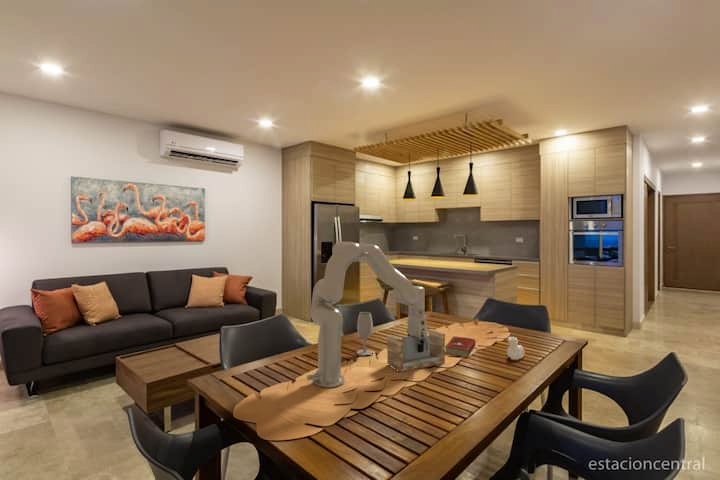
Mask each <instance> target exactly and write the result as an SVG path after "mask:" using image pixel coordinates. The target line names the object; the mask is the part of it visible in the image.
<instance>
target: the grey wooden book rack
mask: <svg viewBox="0 0 720 480" xmlns="http://www.w3.org/2000/svg"><path fill="white" fill-rule="evenodd" d="M428 335H430V357H427V358H422V359H416V360H411V361H406V362H403V340H402V338H398V337H396V336H395V335H393V334H389V335H387V364H389V365H390V366H392V367H393V368H395V369H396V370H395V369H394V370H395V371H397V370H398V371H401V372H406V371H411V370H415V369H414V368H416V369H420V367H421V368H425V366H426V367H430V365H431V366H435V365H440V364H441V365H442V364H445V363H446V357H445V356H446V347H445V346H446V334H445V333H444V332H441V331H439V330H435V329H434V328H429V329H428ZM389 365H388V366H389ZM390 366H389V367H390ZM392 367H391V368H392ZM393 368H392V369H393ZM410 369H411V370H410ZM405 370H406V371H405ZM398 371H397V372H398Z"/></svg>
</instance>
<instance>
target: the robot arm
mask: <svg viewBox="0 0 720 480" xmlns="http://www.w3.org/2000/svg"><path fill="white" fill-rule="evenodd" d="M331 252H332V255H331V256H330V258H329V259H328V260H327V263H326V267H325V270H324V272H325V273H324V277H323V278H322V279H319V280H318V281H317V282H316V283H315V285H314V287H313V290H312V298H311V306H310V318H311V320H312V321H313V323H314V324H316V325H317V326H319V331H318V338H317V370H315V372H314V373H313V374H307V375H306V379H307V381H310V380H311V381H312V382H314V384H315V385H316V386H318V387H320V388H321V387H322V388H335V387H336V386H337V387H339V385H340V386H342V385H343V384H344V383H345V377H344V376H343V375H342V348H341V347H342V343H341V342H342V328H343V321H344V320H343V315H342V313H341V311H340V310H339V309H338V308H336V307H334V306H332V305H333V304H337V303H339V302H341V300H342V298H343V294H344V286H345V285H344V284H345V280H346V272H347V269H348V268H349V266H350V265H351V264H352V263H353V262H354V263H355V262H356V263H357V262H359V263H366V264H367V265H368V266H369V267H370V269H371V270H372V271H373V273H374V274H375V276H376V277H377V278H378V279H379V280H380V281H382V282H383V283H384V284H386V285H388V286H390V287H391V288H392V291H391V297H392V299H393V300H394V301H395V302H397V303H400V304H403V305H406V306H408V316H407V317H408V318H407V325H406V327H407V329H406V333H407V337H410V336H414V337H417V339H418V346H417V352H418V353H420V352H424V343H425V341H426V340H427V335H428V326H427V319H426V316H425V315H426V313H425V312H426V311H425V306H426V305H425V302H426V301H425V298H426V297H425V293H426V292H425V291H426V290H425V288H424V287H423V286H420V285H413V283H412V282H411V281H410V280H409V279H408V278H407V277H406V276H405V275H403V274H402V273H401V272H400V271H399V270H397V269H396V268H395V266H394V265H393V264H392V263H391V261H390V260H389V258H387V256H386V254H385V253H384V252H383V251H382V249H381V248H380V247H379V246H378V245H377V244H371V243H356V242H355V241H354V242H353V241H338V242H336V243H335V244H334V245H333V246H332V251H331ZM420 336H421V337H420ZM420 338H421V339H422V340H421V341H420ZM341 384H342V385H341Z"/></svg>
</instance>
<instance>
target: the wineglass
mask: <svg viewBox="0 0 720 480" xmlns="http://www.w3.org/2000/svg"><path fill="white" fill-rule="evenodd" d="M356 329H357V335H359V337H360V338H361V339H362V340H363V349H358V350H357V351H356V354H357V355H358V356H361V357H367V356H366V355H370V356H372V355H373V354H374V351H373V350H371V349H367V339H369V338H370V337H371V336H372V334H373V330H374V322H373V316H372V313H371V312H370V311H360V312H359V314H358V316H357V324H356ZM372 353H373V354H372ZM371 354H372V355H371Z"/></svg>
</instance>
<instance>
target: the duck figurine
mask: <svg viewBox="0 0 720 480" xmlns="http://www.w3.org/2000/svg"><path fill="white" fill-rule="evenodd" d="M507 342H508V344H510V345H509V346H508V347H507V349H506V354H507V355H506V356H508V357H509V358H510V359H511V360H515V361H518V360H522V359H523V357H524V355H525V352H526V351H525V348H524V346H522V345H521V344H518V343H519V339H518V337H515V336H509V337H508V338H507Z"/></svg>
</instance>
